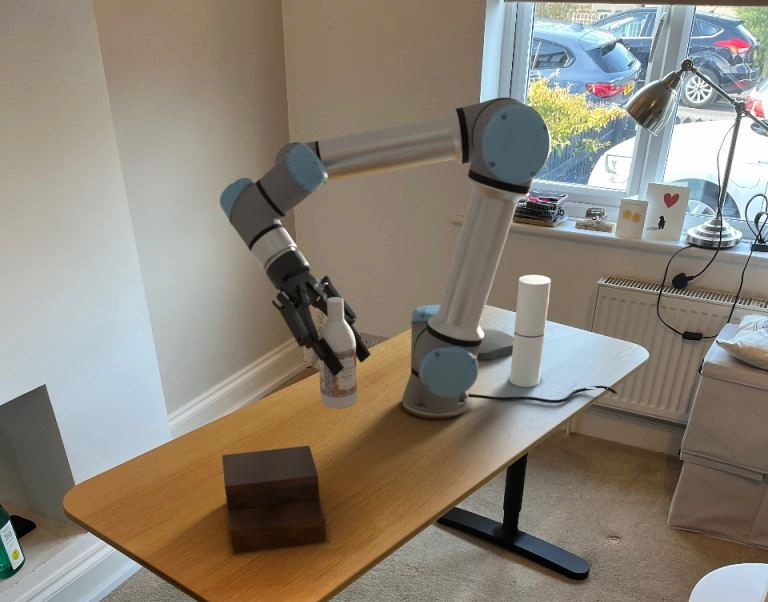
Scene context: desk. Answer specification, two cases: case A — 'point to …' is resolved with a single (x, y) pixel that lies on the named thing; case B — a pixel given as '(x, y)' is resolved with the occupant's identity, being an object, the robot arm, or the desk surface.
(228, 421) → the desk surface
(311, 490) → the stepped brown block
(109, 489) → the desk surface
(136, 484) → the desk surface
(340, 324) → the bath foam
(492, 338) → the media streaming box
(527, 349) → the cylindrical container
